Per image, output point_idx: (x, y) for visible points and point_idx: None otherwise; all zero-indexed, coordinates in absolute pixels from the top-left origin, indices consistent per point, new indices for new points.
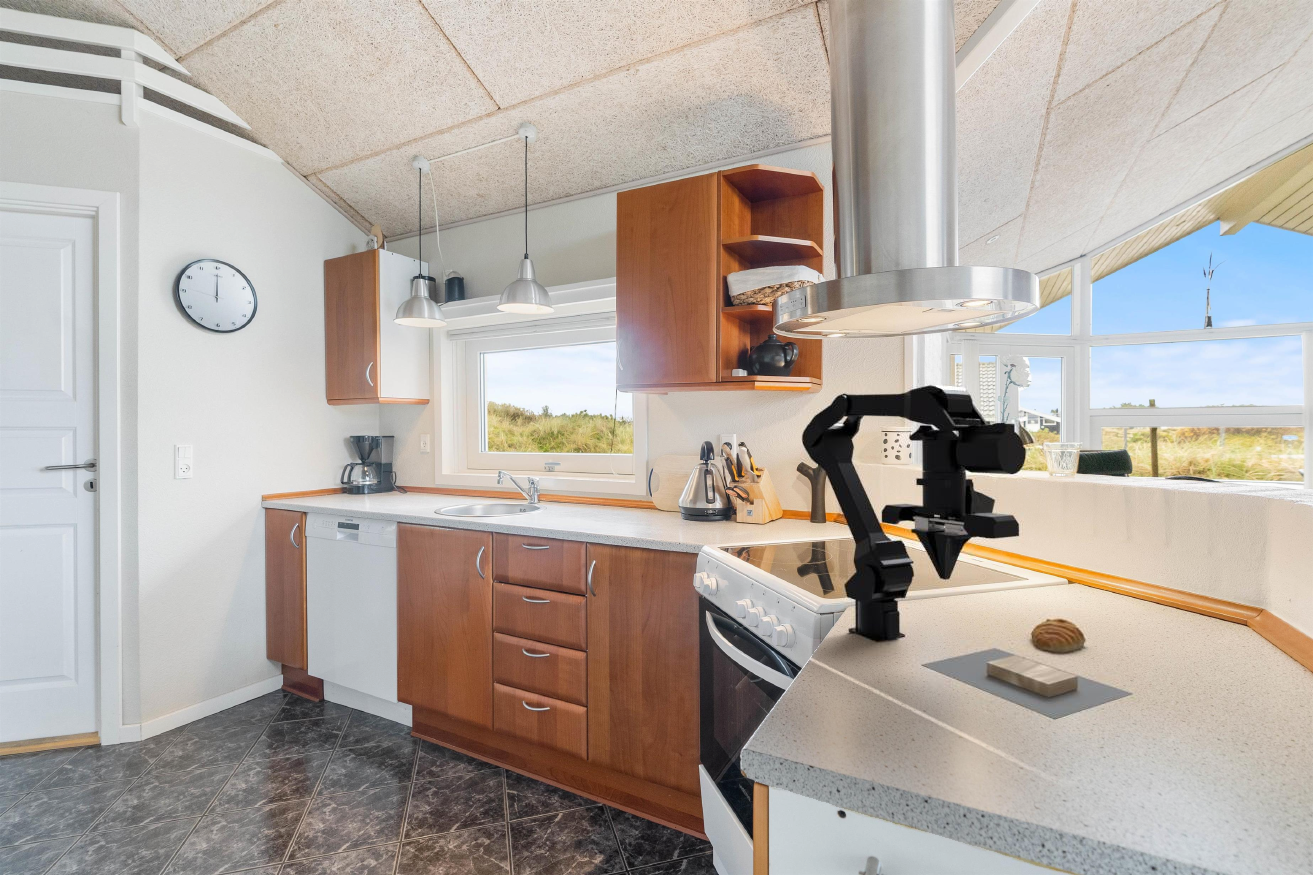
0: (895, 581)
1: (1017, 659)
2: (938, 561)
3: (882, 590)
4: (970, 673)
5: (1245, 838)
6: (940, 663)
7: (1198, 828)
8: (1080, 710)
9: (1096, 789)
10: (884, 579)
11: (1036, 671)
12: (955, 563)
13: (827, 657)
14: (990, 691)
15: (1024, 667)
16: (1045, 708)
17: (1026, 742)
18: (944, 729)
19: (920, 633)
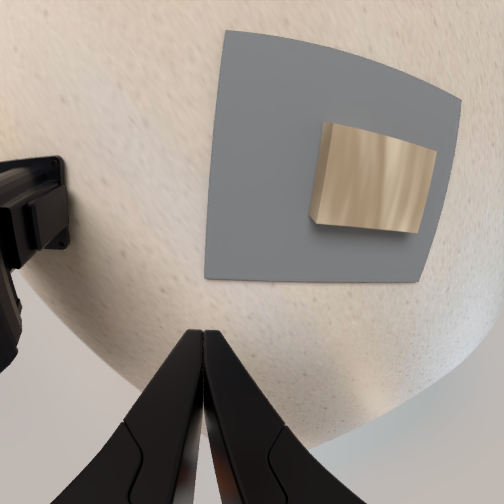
0: (3, 297)
1: (347, 146)
2: (198, 448)
3: (20, 316)
4: (285, 235)
5: (488, 319)
6: (219, 239)
7: (474, 332)
8: (436, 228)
9: (439, 349)
10: (17, 352)
11: (393, 189)
12: (262, 393)
13: (108, 358)
14: (342, 277)
15: (373, 185)
16: (407, 262)
17: (399, 340)
18: (337, 382)
19: (55, 90)
